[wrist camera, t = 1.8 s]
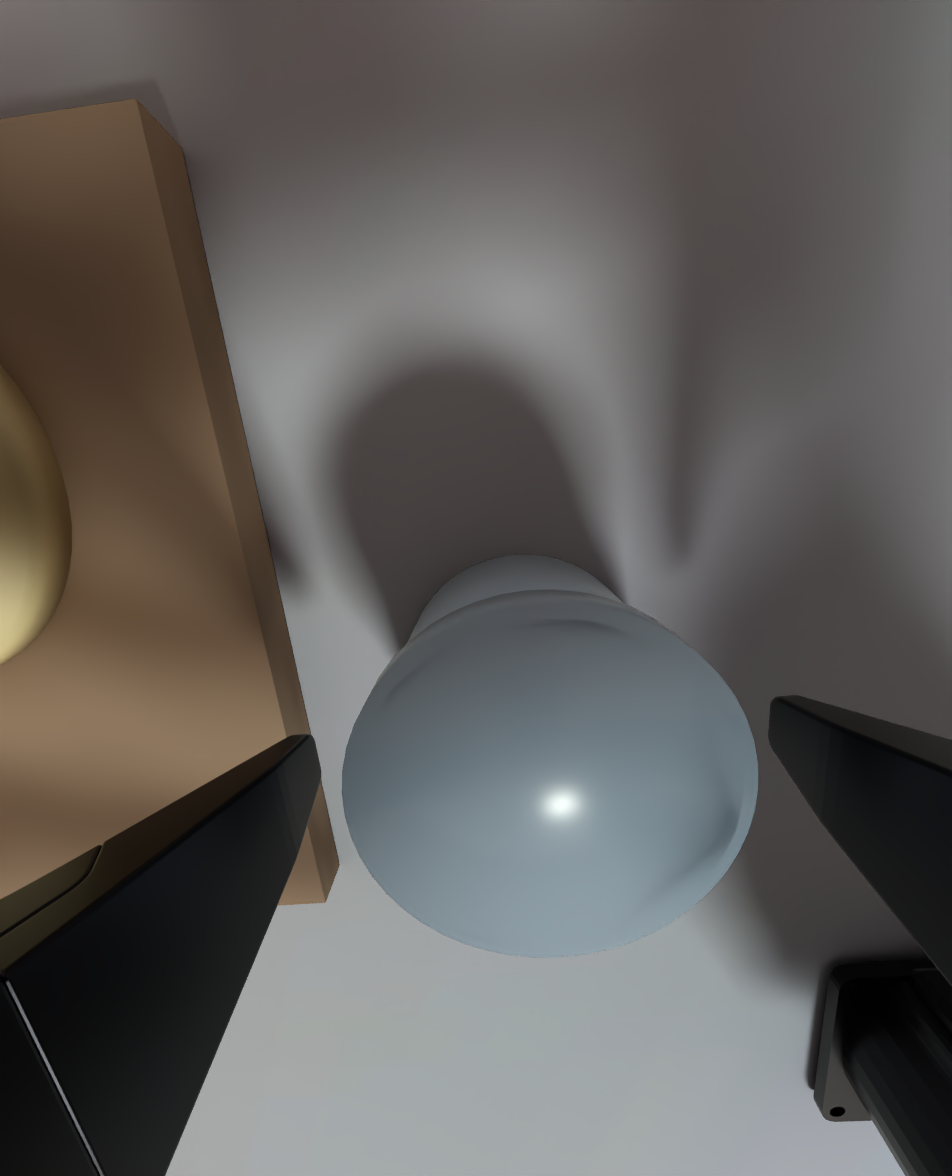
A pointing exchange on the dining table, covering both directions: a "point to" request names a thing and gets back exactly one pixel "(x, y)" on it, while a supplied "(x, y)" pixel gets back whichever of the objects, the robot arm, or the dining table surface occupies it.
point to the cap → (547, 766)
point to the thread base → (124, 506)
